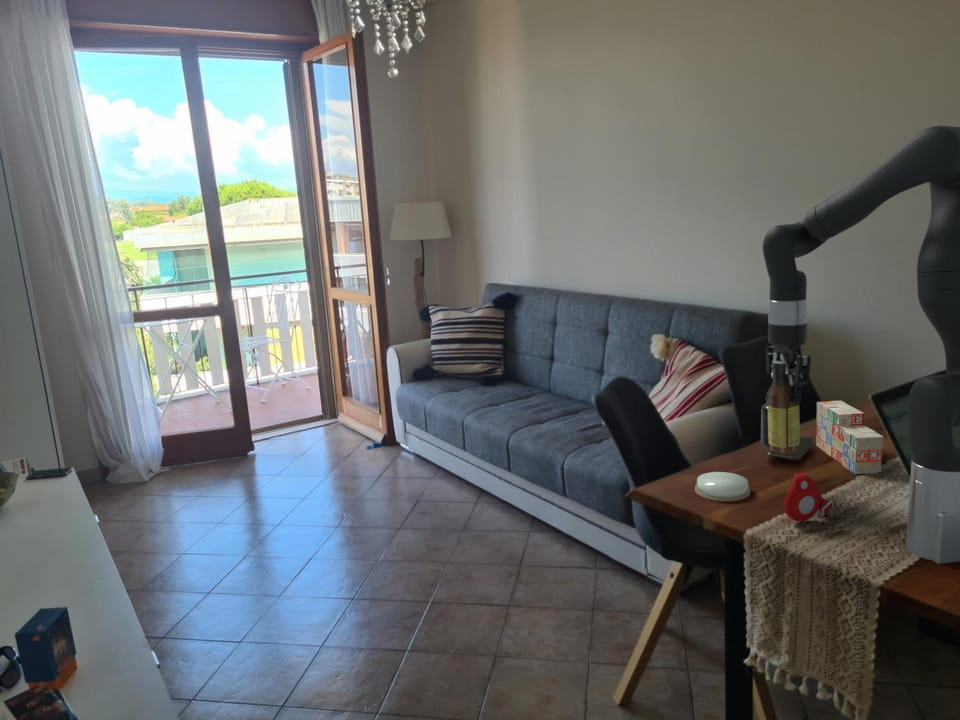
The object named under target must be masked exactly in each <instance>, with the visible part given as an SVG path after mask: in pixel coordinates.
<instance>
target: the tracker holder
mask: <svg viewBox="0 0 960 720" xmlns="http://www.w3.org/2000/svg"><path fill="white" fill-rule="evenodd" d="M793 476H794V478H793V481H792V483H791V486H790V487H789V488H788V491H787V494H786V496H785V499H784V502H783V510H784V513H785V514H786V516H787V517H788V518H790V519H791V520H793V521H795V522H806V521H808V520H810V519H811V518H813V517H814V516H815V515H816V514H817V512H818V511H819V512H821V516H823V517H825V516H828V515H830V514H832V510H833V509H834V502H833V500H831V499H830V500H827V499H824V496H822V495H821V494H820V491H819V489H818V487H817V485H816V482H815V481H814V479H813V478H812V477H810V476H809V475H808V474H806V473H805V472H801V473H794V475H793ZM824 515H825V516H824Z"/></svg>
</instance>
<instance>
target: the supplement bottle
mask: <svg viewBox="0 0 960 720" xmlns="http://www.w3.org/2000/svg"><path fill="white" fill-rule="evenodd" d="M765 395H766V397H765V401H766V403H764V404H763V405H762V406H761V408H760V409H761V410H760V411H761V412H760V413H761V415H760V419H761V420H760V443H761V445H762V447H765V448H767V449H770V448H769V439H768V391H767V392H766V394H765Z"/></svg>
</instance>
